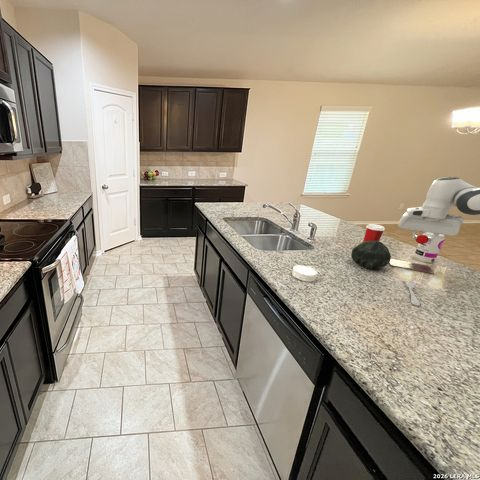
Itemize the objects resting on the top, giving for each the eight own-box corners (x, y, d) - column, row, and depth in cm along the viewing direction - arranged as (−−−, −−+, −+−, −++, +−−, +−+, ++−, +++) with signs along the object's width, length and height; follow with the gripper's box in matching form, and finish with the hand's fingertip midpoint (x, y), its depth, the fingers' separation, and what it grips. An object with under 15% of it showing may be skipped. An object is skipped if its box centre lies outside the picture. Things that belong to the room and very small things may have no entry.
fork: (408, 308, 99) (411, 303, 98) (402, 281, 114) (404, 276, 113) (418, 311, 97) (421, 305, 96) (410, 283, 112) (413, 278, 111)
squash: (361, 246, 137) (360, 231, 127) (395, 257, 126) (398, 241, 116) (346, 266, 135) (345, 252, 125) (380, 279, 124) (382, 265, 114)
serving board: (428, 266, 128) (428, 265, 128) (433, 274, 120) (434, 273, 120) (387, 258, 136) (387, 257, 136) (390, 265, 128) (390, 264, 128)
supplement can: (436, 261, 134) (448, 234, 128) (431, 264, 130) (443, 237, 124) (415, 255, 140) (426, 230, 135) (410, 258, 136) (421, 232, 131)
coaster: (319, 283, 112) (321, 276, 110) (295, 280, 114) (296, 273, 112) (311, 272, 121) (313, 266, 120) (289, 270, 123) (290, 263, 121)
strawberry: (425, 243, 123) (428, 234, 122) (427, 246, 120) (431, 237, 118) (413, 241, 125) (416, 232, 124) (415, 243, 122) (418, 235, 120)
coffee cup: (374, 248, 148) (382, 224, 143) (378, 254, 141) (387, 229, 136) (357, 246, 152) (364, 222, 146) (360, 251, 145) (368, 226, 139)
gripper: (463, 214, 114) (449, 242, 119) (403, 208, 124) (393, 234, 130) (468, 218, 109) (454, 247, 114) (405, 210, 120) (395, 237, 125)
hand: (421, 240), depth 122 cm, fingers closed on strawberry, 4 cm apart
